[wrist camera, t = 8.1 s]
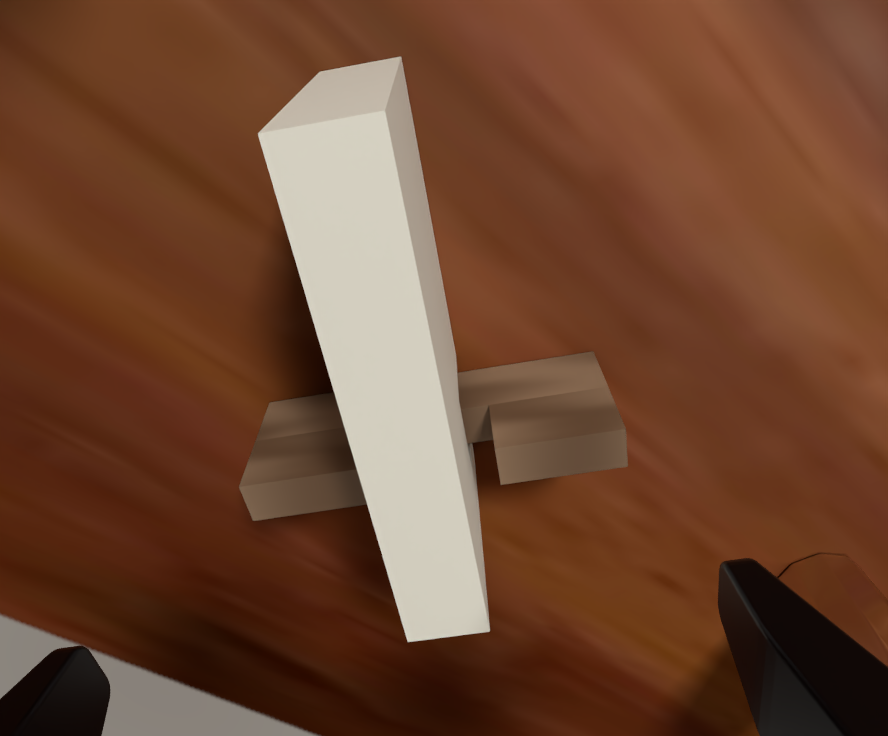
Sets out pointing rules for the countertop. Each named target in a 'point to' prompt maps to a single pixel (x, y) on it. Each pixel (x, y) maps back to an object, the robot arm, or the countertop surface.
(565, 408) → the brown wooden flat piece
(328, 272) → the cream plate
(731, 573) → the robot arm
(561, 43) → the countertop surface
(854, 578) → the milkshake
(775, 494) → the countertop surface
